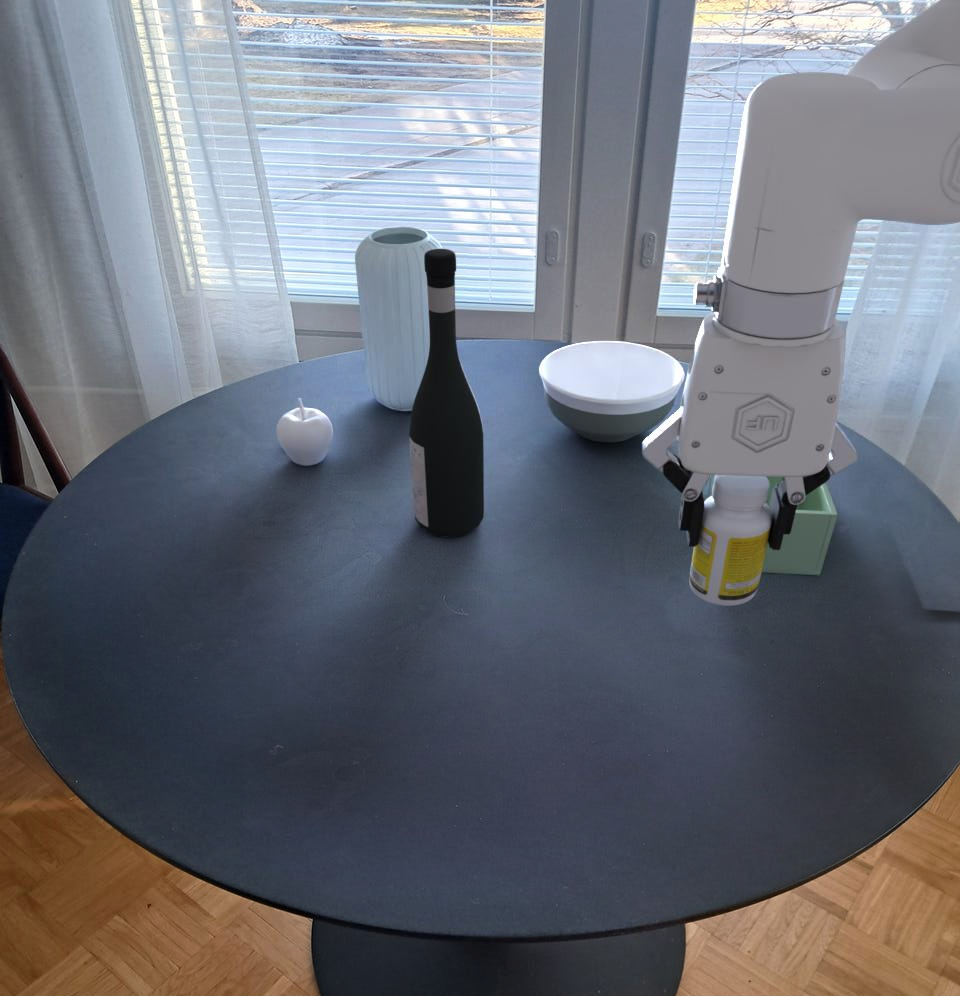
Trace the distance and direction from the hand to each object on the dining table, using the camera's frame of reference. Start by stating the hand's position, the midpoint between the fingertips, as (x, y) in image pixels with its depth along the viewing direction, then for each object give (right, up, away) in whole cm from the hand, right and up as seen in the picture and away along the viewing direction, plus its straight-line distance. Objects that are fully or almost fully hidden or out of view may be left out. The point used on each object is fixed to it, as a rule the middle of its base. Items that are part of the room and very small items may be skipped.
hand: (731, 536), depth 69 cm
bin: (+12, +3, +31) cm, 33 cm away
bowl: (-2, +21, +52) cm, 56 cm away
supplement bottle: (0, -4, +3) cm, 5 cm away
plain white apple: (-41, +15, +47) cm, 64 cm away
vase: (-29, +26, +59) cm, 71 cm away
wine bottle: (-23, +6, +35) cm, 42 cm away
